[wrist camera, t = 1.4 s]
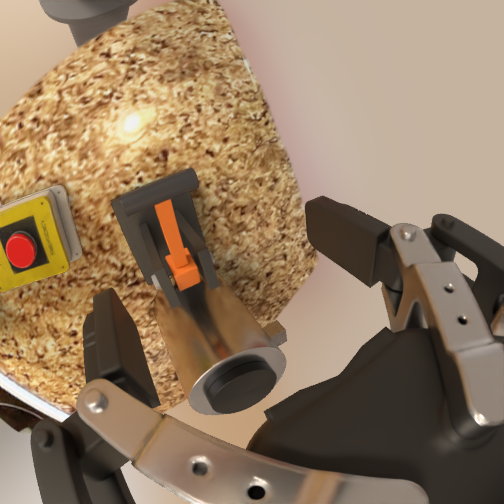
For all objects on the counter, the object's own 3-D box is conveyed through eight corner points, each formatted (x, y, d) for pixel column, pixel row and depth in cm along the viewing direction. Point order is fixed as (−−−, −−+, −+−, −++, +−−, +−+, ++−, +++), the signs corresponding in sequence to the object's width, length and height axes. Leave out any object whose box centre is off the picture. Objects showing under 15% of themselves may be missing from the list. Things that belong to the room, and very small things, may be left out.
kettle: (140, 290, 34) (174, 395, 21) (231, 249, 39) (305, 326, 26) (176, 350, 42) (217, 436, 29) (248, 314, 47) (307, 386, 34)
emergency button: (82, 274, 25) (-15, 304, 19) (84, 255, 28) (-6, 285, 22) (57, 192, 20) (-46, 235, 14) (64, 182, 24) (-32, 220, 18)
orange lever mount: (110, 200, 27) (112, 243, 18) (181, 171, 30) (219, 198, 21) (146, 280, 34) (168, 342, 25) (206, 253, 37) (246, 304, 28)
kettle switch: (116, 187, 15) (123, 211, 14) (187, 159, 17) (201, 180, 16) (158, 277, 26) (167, 297, 24) (203, 257, 27) (214, 275, 26)
